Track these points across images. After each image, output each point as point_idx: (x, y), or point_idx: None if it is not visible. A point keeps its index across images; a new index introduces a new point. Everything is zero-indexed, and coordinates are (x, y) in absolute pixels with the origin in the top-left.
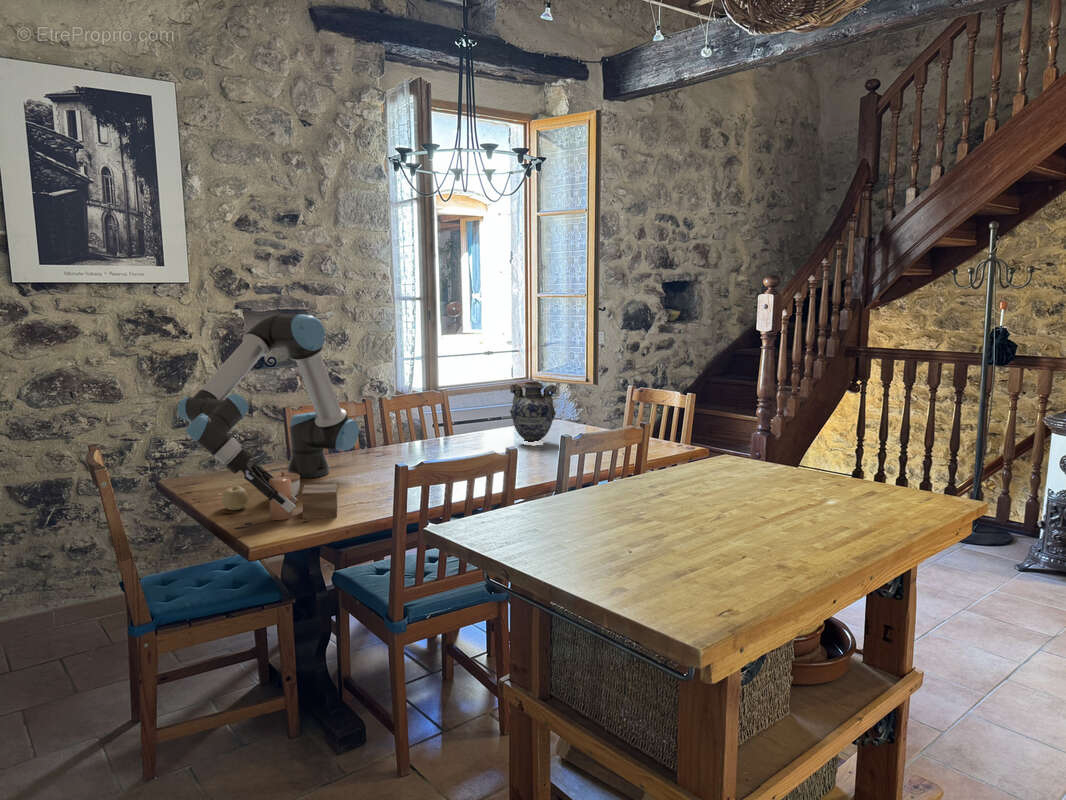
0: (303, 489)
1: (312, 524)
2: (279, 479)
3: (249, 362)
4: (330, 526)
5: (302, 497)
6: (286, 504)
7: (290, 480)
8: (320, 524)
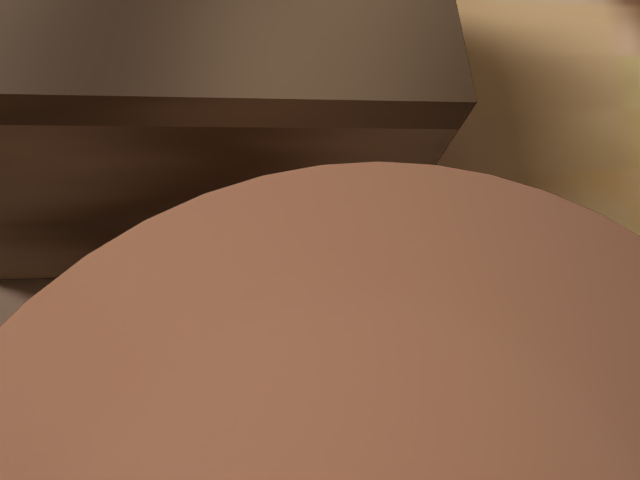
0: (167, 88)
1: (536, 171)
2: None
3: None
4: (584, 39)
5: (447, 137)
6: None
7: (448, 191)
8: (535, 109)
